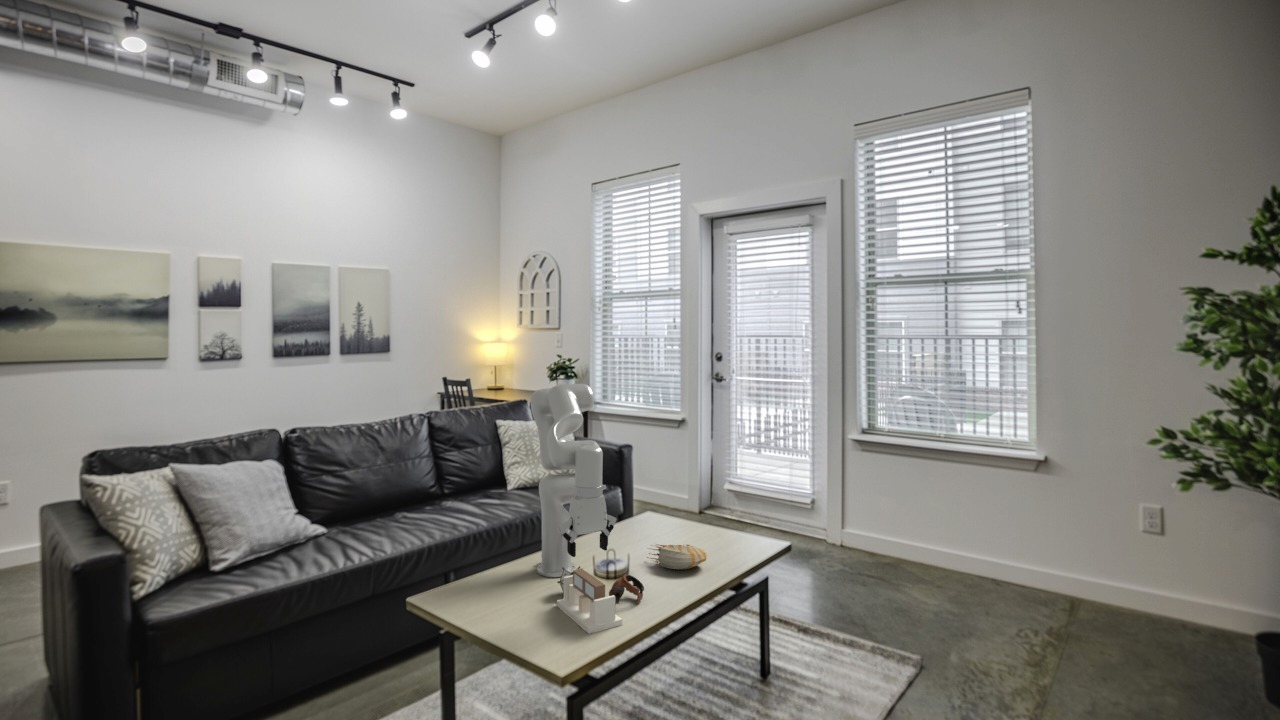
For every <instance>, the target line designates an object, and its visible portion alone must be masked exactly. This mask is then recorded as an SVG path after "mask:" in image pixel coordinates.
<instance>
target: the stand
mask: <svg viewBox="0 0 1280 720" xmlns="http://www.w3.org/2000/svg"><path fill="white" fill-rule="evenodd" d="M563 595H564V597H563V598H561V599H557V600H556V606H557V607H558V608H559V609H560V610H561V611H562V612H563V613H564V614H566V615H567V616H568V617H569V618H571V620H572V621H574V622H575V623H576V624H577V625H578V626H579V627H580V628H581V629H582V630H584V631H585V632H586V633H587V634H588V635H589V634H594V633H598V632H601V631H605V630H608V629H612V628H616V627H619V626H623V618H622V617H620V616H619V615H617V614H616V603H615V596H614V595H612V596H609V595H608V596H605V597H604V598H600V599H595V600H593V601H592V600H590V599H589V598H588V597H587V596H585V595H584V594H583V593H581V592H580V591H579V590H578V589H576V588H575V587H574V586H573V575H570V576H566V577H564V593H563Z"/></svg>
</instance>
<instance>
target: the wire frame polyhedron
mask: <svg viewBox="0 0 1280 720" xmlns="http://www.w3.org/2000/svg"><path fill="white" fill-rule="evenodd" d="M562 569H563V573H562V576H561V577H559V581H557V582H556V583H557V584H559V585H560V587H561V590H562V592H563V595H562V597H563V598H564V577H566V576H570V575H573V570H577V569H581V566H580V565H579V566H578V567H577V568H576V569H564V567H562Z"/></svg>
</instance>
